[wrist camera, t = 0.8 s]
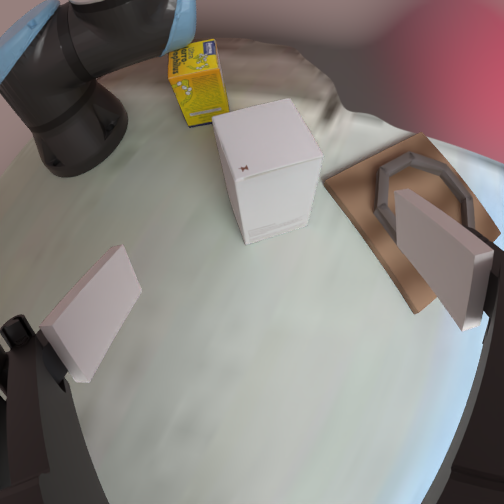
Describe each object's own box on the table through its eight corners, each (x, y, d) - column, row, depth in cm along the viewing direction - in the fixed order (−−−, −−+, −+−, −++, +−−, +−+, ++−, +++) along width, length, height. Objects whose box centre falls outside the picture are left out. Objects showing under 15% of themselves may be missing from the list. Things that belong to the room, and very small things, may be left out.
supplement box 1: (186, 99, 42) (167, 47, 31) (226, 91, 41) (215, 37, 31) (188, 130, 40) (166, 78, 30) (231, 121, 40) (220, 67, 30)
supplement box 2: (309, 227, 34) (327, 157, 22) (244, 247, 34) (231, 183, 22) (286, 173, 37) (292, 95, 25) (226, 190, 36) (208, 114, 24)
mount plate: (323, 185, 36) (327, 173, 33) (418, 136, 38) (425, 125, 36) (414, 314, 30) (425, 310, 27) (496, 236, 32) (507, 228, 30)
